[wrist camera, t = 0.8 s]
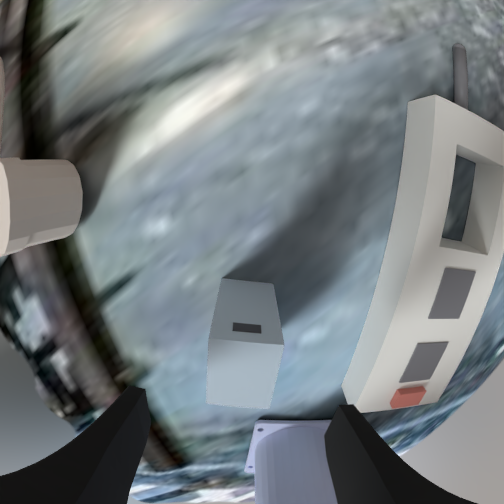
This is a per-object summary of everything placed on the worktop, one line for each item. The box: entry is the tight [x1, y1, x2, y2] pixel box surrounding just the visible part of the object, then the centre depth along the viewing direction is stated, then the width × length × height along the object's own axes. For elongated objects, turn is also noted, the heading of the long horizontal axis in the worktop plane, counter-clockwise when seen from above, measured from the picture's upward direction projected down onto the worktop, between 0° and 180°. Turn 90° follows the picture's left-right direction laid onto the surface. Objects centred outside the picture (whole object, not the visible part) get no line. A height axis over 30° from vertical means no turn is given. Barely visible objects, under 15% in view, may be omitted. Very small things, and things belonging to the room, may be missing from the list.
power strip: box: [341, 43, 504, 413], centre depth 14 cm, size 26×8×4 cm, turn 173°
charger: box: [206, 278, 284, 409], centre depth 14 cm, size 4×3×6 cm
